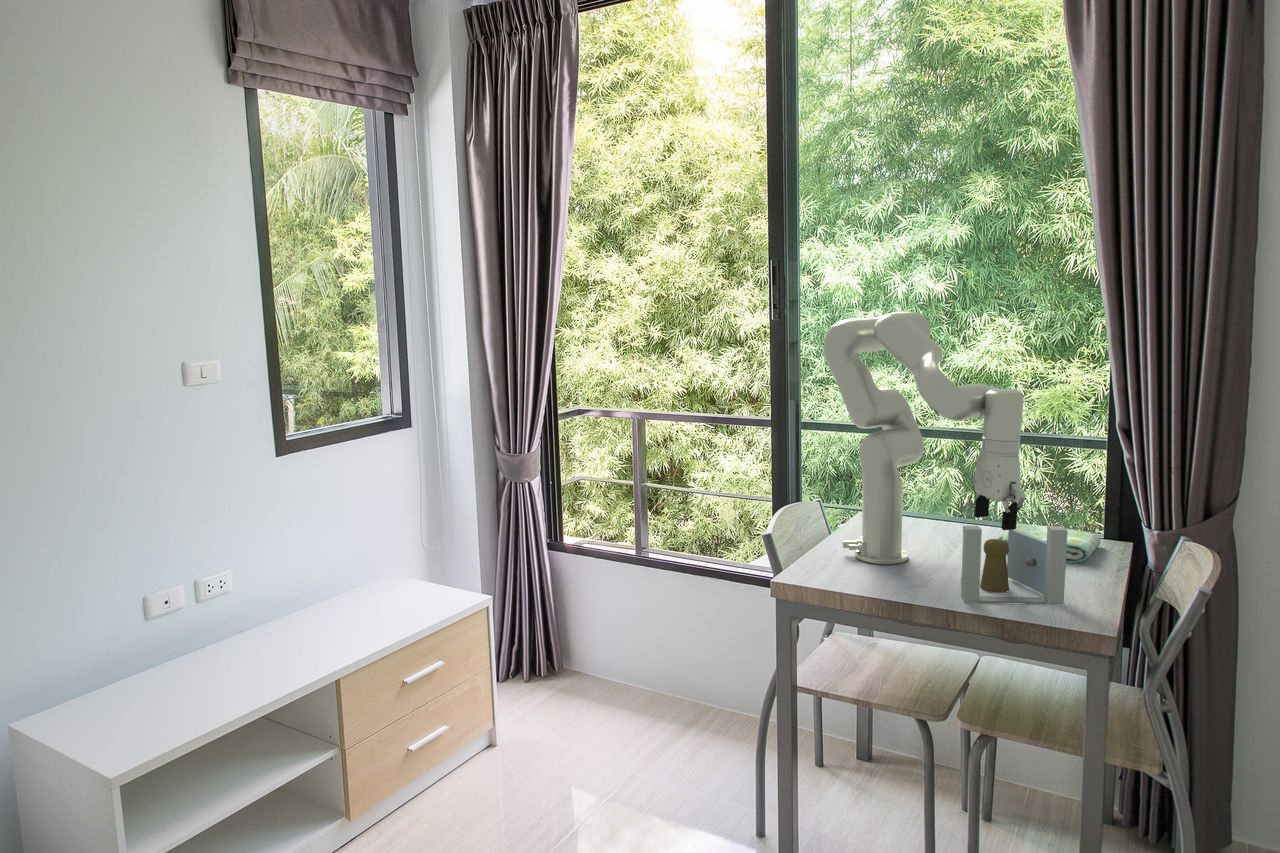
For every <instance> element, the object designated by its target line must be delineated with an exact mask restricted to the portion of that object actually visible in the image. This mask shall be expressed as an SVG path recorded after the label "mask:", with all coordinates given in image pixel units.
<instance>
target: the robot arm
mask: <svg viewBox="0 0 1280 853" xmlns="http://www.w3.org/2000/svg"><path fill="white" fill-rule="evenodd" d="M930 335H931V325H930V322H929V321H928V319H927V318H926V317H925V316H924V315H923V314H921V313H919V312H916V311H901V312H897V311H896V312H891V313H886V314H884V315H883V316H876V317H865V318H864V317H863V318H861V317H859V318H849V319H848V318H847V319H842V320H839V321H837V322H836V323H834V324H832V325H831V326H830V328H828V329H827V332H826V334H825V337H824V339H823V344H822V345H823V347H822V348H823V356H824V360H825V363H826V364H827V366H828V368H829V371H830V372H831V374H832V376H833V378H834V380H835V383H836V384H837V386H838V390H839V393H840V395H841V397H842V400H843V403H844V405H845V408H846V410H847V412H848V415H849V417H850V419H851V421H852V423H853V424H854V425H855V426H856V427H857V428H859V429H866V430H868V429H869V430H870V429H874V428H880V427H881V428H882V430H878V431H875V432H872V433H870V434H868V435H867V436H865V437H864V438H862V441H861V442H860V445H859V447H858V457H859V458H858V459H859V463H860V468H861V478H862V479H861V480H862V483H861V484H862V491H861V492H862V511H861V512H862V514H861V516H862V517H861V518H862V520H861V521H862V522H861V527H862V528H861V535H860V536H859V539H855V540H845V539H843V540H842V548H843V549H848V551H855V552H854V555H855V556H854V557H856V559H858V560H860V561H862V562H865V563H869V564H877V565H894V564H900V563H904V562H906V561H908V559H909V554H908V551H906V550H904V549H902V546H903V545H902V544H903V508H904V507H903V504H904V503H903V499H904V497H903V496H904V495H903V494H904V489H903V488H904V486H903V482H902V479H901V475H900V473H899V470H898V468H901V467H905V466H910V465H913V464H916V463H917V462H918V461H920V460H921V458H922V457H923V455H924V452H925V443H924V439H923V435H922V433H921V430H920V428H919V426H918V422H917V421H916V419H915V416H914V414H913V411H912V409H911V406H910V405H909V403H908V401H907V399H906V397H905V396H904V394H902V393H901V392H900V391H899V390H898V389H896V388H893V387H881V388H878V386H877V385H876V383H875V381H874V379H873V377H872V374H871V371H870V369H869V368H868V366H867V365H866V364H865V363H864V361H862V360H861V359H860V358H859V356H858V354H860V353H861V354H862V353H871V352H880V351H881V352H883V351H887V352H888V353H889V354H891V355H892V356H893V357H894V358H895V359H896V360H897V361H898V362H899V363H900V364H901V365H903V367H905V369H907V370H908V371H909V372H910V373H911V374H912V375H913V378H914V379H913V380H914V383H915V386H916V388H917V391H918V393H919V395H920V396H921V397H922V399H923V400H924V401H925V402H926V403H927V404H928V405H929V406H930V407H931V408H932V409H933V410H934V411H936V412H937V414H939V415H940V416H942V417H943V418H945V419H947V420H949V421H952V422H960V421H968V420H971V419H979V418H983V427H982V430H983V431H982V444H981V449H980V450H979V454H978V457H977V461H976V467H975V474H974V475H972V477H971V482H972V490H973V492H974V495H973V497H974V499H975V502H974V503H975V504H974V505H975V506H974V514H973V515H974V517H975V518H986V517H989V513H990V512H989V511H990V501H991V500H992V501H994V502H1001V504H1002V506H1003V508H1004V511H1002V514H1001V515H1002V516H1001V529H1002V530H1003V531H1007V530H1014V529H1016V524H1017V523H1018V513H1019V512H1020V511H1021V508H1022V507H1023V505H1024V502H1025V500H1026V495H1025V494H1024V492H1023V491H1022V490H1021V488H1020V486H1021V464H1020V462H1021V461H1020V456H1019V455H1020V448H1021V434H1022V424H1023V423H1022V422H1023V412H1024V395H1023V393H1022V392H1021V391H1020V390H1017V389H1014V388H1013V389H1012V388H997V387H995V386H991V385H988V384H984V383H973V384H972V383H971V384H964V385H956V384H955V383H954V382H952V380H950V379H949V378H947V376H946V375H945V374H944V373H943V372H942V371H941V369H940V367H939V366H938V365H939V364H940V362H941V360H942V358H943V349H942V348H941V346H940V345H939V344H937V343H936V342H935V341H934V340H933V339H931V338H930ZM1009 503H1011V504H1009Z"/></svg>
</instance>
